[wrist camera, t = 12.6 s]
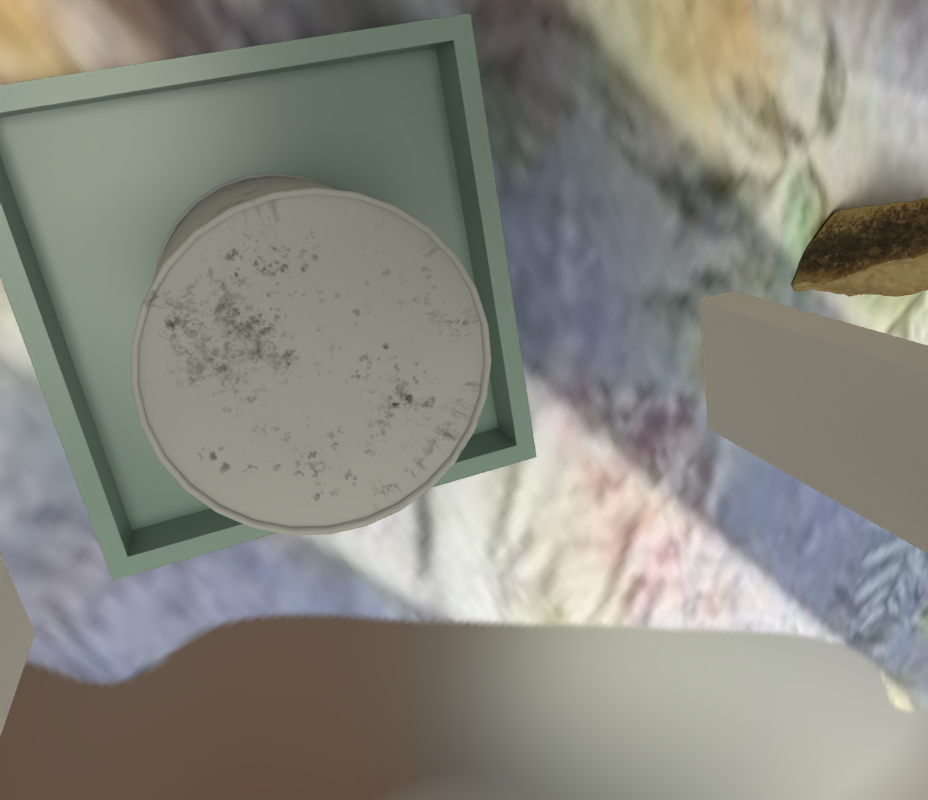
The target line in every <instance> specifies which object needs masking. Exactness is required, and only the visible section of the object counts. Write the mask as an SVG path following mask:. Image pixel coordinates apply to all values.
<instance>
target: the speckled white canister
mask: <svg viewBox="0 0 928 800" xmlns="http://www.w3.org/2000/svg"><path fill="white" fill-rule="evenodd" d="M490 367H491V351H490V339H489V328H488V322H487V319H486V316H485V313H484V310H483V307H482V303H481V300H480V297H479V294H478V291H477V288H476V287H475V285H474V283H473V282H472V280H471V278H470V277H469V275H468V273H467V271H466V270H465V268H464V266H463V265H462V263H461V261H460V260H459V258H458V256H457V255H456V254H455V253H454V252H453V251H452V250H451V249H450V248H449V247H448V246H447V245H446V244H445V243H444V242H443V241H442V240H441V239H440V238H439V237H438V236H437V235H436V233H435V232H434V231H433V230H432V229H431V228H429V227H428V226H426V225H425V224H423V223H422V222H420V221H419V220H417V219H415V218H414V217H412V216H411V215H409V214H408V213H406V212H405V211H403V210H402V209H400V208H398V207H397V206H394V205H392V204H389V203H386V202H383V201H380V200H378V199H375V198H372V197H369V196H366V195H364V194H361V193H358V192H352V191H343V190H336V189H333V188H332V187H330V186H329V185H326V184H323V183H320V182H318V181H315V180H312V179H309V178H306V177H303V176H299V175H291V174H282V173H264V174H255V175H246V176H243V177H240V178H237V179H234V180H232V181H229V182H226V183H223V184H220V185H218V186H216V187H215V188H213V189H212V190H210V191H209V192H207V193H206V194H204V195H203V196H201V197H200V198H198V199H197V200H195V201H194V202H193V203H192V204H191V205H190V206H189V207H188V208H187V210H186V211H185V212H184V213H183V214H182V215H181V216H180V217H179V218H178V219H177V220H176V221H175V223H174V225H173V227H172V229H171V230H170V232H169V234H168V236H167V238H166V239H165V241H164V243H163V245H162V247H161V251H160V255H159V259H158V262H157V266H156V270H155V276H154V281H153V283H152V285H151V287H150V289H149V290H148V292H147V294H146V296H145V298H144V299H143V301H142V305H141V308H140V312H139V316H138V320H137V323H136V327H135V331H134V335H133V338H132V342H131V388H132V392H133V397H134V401H135V405H136V409H137V413H138V417H139V421H140V425H141V427H142V429H143V431H144V433H145V435H146V437H147V438H148V440H149V442H150V444H151V446H152V448H153V450H154V452H155V454H156V456H157V458H158V459H159V461H160V462H161V463H162V464H163V466H164V467H165V468H166V469H167V470H168V471H169V472H170V473H171V475H172V476H173V477H174V478H175V479H176V480H177V481H178V483H179V484H180V485H181V486H182V487H183V488H184V489H185V490H186V491H187V492H188V493H190V494H191V495H193V496H194V497H195V498H197V499H198V500H200V501H201V502H203V503H204V504H205V505H207V506H208V507H210V508H211V509H212V510H214V511H215V512H217V513H219V514H221V515H223V516H226V517H228V518H230V519H233V520H235V521H238V522H240V523H242V524H245V525H247V526H250V527H252V528H255V529H261V530H266V531H272V532H277V533H283V534H288V535H319V534H333V533H337V532H342V531H346V530H350V529H355V528H359V527H364V526H367V525H369V524H372V523H374V522H376V521H378V520H380V519H383V518H385V517H387V516H389V515H392V514H394V513H396V512H398V511H400V510H402V509H403V508H405V507H406V506H407V505H409V504H410V503H412V502H413V501H414V500H416V499H417V498H419V497H420V496H421V495H423V494H424V493H426V492H427V491H428V490H430V489H431V488H432V487H433V486H434V485H435V484H436V483H437V481H438V480H439V479H440V478H441V477H442V476H443V475H444V474H445V473H446V472H447V471H448V470H449V469H450V468H451V467H452V465H453V464H454V463H455V462H456V461H457V459H458V457H459V456H460V454H461V452H462V451H463V449H464V447H465V446H466V444H467V443H468V441H469V439H470V438H471V436H472V434H473V433H474V431H475V428H476V425H477V423H478V420H479V417H480V414H481V411H482V409H483V406H484V403H485V400H486V397H487V390H488V383H489V375H490Z"/></svg>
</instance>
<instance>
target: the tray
mask: <svg viewBox="0 0 928 800" xmlns="http://www.w3.org/2000/svg"><path fill="white" fill-rule="evenodd" d="M264 173H282V174H291V175H299V176H303V177H306V178H309V179H312V180H315V181H318V182H320V183H323V184H326V185H329V186H330V187H332V188H333V189H336V190H343V191H352V192H358V193H361V194H364V195H366V196H369V197H372V198H375V199H378V200H380V201H383V202H386V203H389V204H392V205H394V206H397V207H398V208H400V209H402V210H403V211H405V212H406V213H408V214H409V215H411V216H412V217H414V218H415V219H417V220H419V221H420V222H422V223H423V224H425V225H426V226H428V227H429V228H431V229H432V230H433V231H434V232H435V233H436V235H437V236H438V237H439V238H440V239H441V240H442V241H443V242H444V243H445V244H446V245H447V246H448V247H449V248H450V249H451V250H452V251H453V252H454V253H455V254H456V255H457V256H458V258H459V260H460V261H461V263H462V265H463V266H464V268H465V270H466V271H467V273H468V275H469V277H470V278H471V280H472V282H473V283H474V285H475V287H476V288H477V291H478V294H479V297H480V300H481V303H482V307H483V310H484V313H485V316H486V319H487V322H488V328H489V339H490V351H491V367H490V375H489V383H488V390H487V397H486V400H485V403H484V406H483V409H482V411H481V414H480V417H479V420H478V423H477V425H476V428H475V431H474V433H473V434H472V436H471V438H470V439H469V441H468V443H467V444H466V446H465V447H464V449H463V451H462V452H461V454H460V456H459V457H458V459H457V461H456V462H455V463H454V464H453V465H452V467H451V468H450V469H449V470H448V471H447V472H446V473H445V474H444V475H443V476H442V477H441V478H440V479H439V480H438V481H437V483H436V484H435V485H434V486H433V487H435V486H439V485H442V484H445V483H449V482H452V481H456V480H459V479H463V478H466V477H469V476H473V475H476V474H480V473H483V472H486V471H490V470H493V469H497V468H500V467H504V466H507V465H510V464H514V463H517V462H521V461H524V460H528V459H531V458H534V457H536V452H535V445H534V438H533V431H532V425H531V418H530V411H529V404H528V398H527V391H526V384H525V377H524V371H523V364H522V357H521V350H520V344H519V337H518V330H517V323H516V317H515V310H514V303H513V296H512V290H511V283H510V276H509V269H508V263H507V256H506V249H505V242H504V236H503V229H502V222H501V215H500V209H499V202H498V195H497V188H496V182H495V175H494V168H493V161H492V155H491V148H490V141H489V134H488V128H487V121H486V114H485V107H484V101H483V94H482V87H481V80H480V74H479V67H478V60H477V53H476V47H475V40H474V33H473V26H472V20H471V13H468V14H462V15H455V16H449V17H442V18H436V19H429V20H423V21H416V22H410V23H403V24H396V25H390V26H383V27H377V28H370V29H364V30H357V31H351V32H344V33H338V34H331V35H324V36H318V37H311V38H305V39H298V40H292V41H285V42H279V43H272V44H266V45H259V46H252V47H246V48H239V49H233V50H226V51H220V52H213V53H207V54H200V55H194V56H187V57H180V58H174V59H167V60H161V61H154V62H148V63H141V64H135V65H128V66H122V67H115V68H108V69H102V70H95V71H89V72H82V73H76V74H69V75H63V76H56V77H50V78H43V79H37V80H30V81H23V82H17V83H10V84H4V85H0V278H1V280H2V283H3V286H4V289H5V291H6V294H7V297H8V299H9V302H10V305H11V307H12V310H13V313H14V316H15V318H16V321H17V324H18V326H19V329H20V332H21V334H22V337H23V340H24V343H25V345H26V348H27V351H28V353H29V356H30V359H31V361H32V364H33V367H34V370H35V372H36V375H37V378H38V380H39V383H40V386H41V388H42V391H43V394H44V397H45V399H46V402H47V405H48V407H49V410H50V413H51V415H52V418H53V421H54V424H55V426H56V429H57V432H58V434H59V437H60V440H61V442H62V445H63V448H64V451H65V453H66V456H67V459H68V461H69V464H70V467H71V469H72V472H73V475H74V478H75V480H76V483H77V486H78V488H79V491H80V494H81V496H82V499H83V502H84V504H85V507H86V510H87V513H88V515H89V518H90V521H91V523H92V526H93V529H94V531H95V534H96V537H97V540H98V542H99V545H100V548H101V550H102V553H103V556H104V558H105V561H106V564H107V567H108V569H109V572H110V575H111V577H112V580H117V579H120V578H123V577H127V576H130V575H134V574H137V573H141V572H144V571H147V570H151V569H154V568H158V567H161V566H165V565H168V564H171V563H175V562H178V561H182V560H185V559H189V558H192V557H195V556H199V555H202V554H206V553H209V552H213V551H216V550H219V549H223V548H226V547H230V546H233V545H236V544H240V543H243V542H247V541H250V540H254V539H257V538H260V537H264V536H267V535H271V534H274V533H277V532H272V531H266V530H261V529H255V528H252V527H250V526H247V525H245V524H242V523H240V522H238V521H235V520H233V519H230V518H228V517H226V516H223V515H221V514H219V513H217V512H215V511H214V510H212V509H211V508H210V507H208V506H207V505H205V504H204V503H203V502H201V501H200V500H198V499H197V498H195V497H194V496H193V495H191V494H190V493H188V492H187V491H186V490H185V489H184V488H183V487H182V486H181V485H180V484H179V483H178V481H177V480H176V479H175V478H174V477H173V476H172V475H171V473H170V472H169V471H168V470H167V469H166V468H165V467H164V466H163V464H162V463H161V462H160V461H159V459H158V458H157V456H156V454H155V452H154V450H153V448H152V446H151V444H150V442H149V440H148V438H147V437H146V435H145V433H144V431H143V429H142V427H141V425H140V421H139V417H138V413H137V409H136V405H135V401H134V397H133V392H132V388H131V342H132V338H133V335H134V331H135V327H136V323H137V320H138V316H139V312H140V308H141V305H142V301H143V299H144V298H145V296H146V294H147V292H148V290H149V289H150V287H151V285H152V283H153V281H154V276H155V270H156V266H157V262H158V259H159V255H160V251H161V247H162V245H163V243H164V241H165V239H166V238H167V236H168V234H169V232H170V230H171V229H172V227H173V225H174V223H175V221H176V220H177V219H178V218H179V217H180V216H181V215H182V214H183V213H184V212H185V211H186V210H187V208H188V207H189V206H190V205H191V204H192V203H193V202H194V201H195V200H197V199H198V198H200V197H201V196H203V195H204V194H206V193H207V192H209V191H210V190H212V189H213V188H215V187H216V186H218V185H220V184H223V183H226V182H229V181H232V180H234V179H237V178H240V177H243V176H246V175H255V174H264Z"/></svg>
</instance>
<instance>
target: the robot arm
mask: <svg viewBox="0 0 928 800" xmlns="http://www.w3.org/2000/svg"><path fill="white" fill-rule="evenodd" d="M699 307H700V321H701V335H702V349H703V362H704V376H705V390H706V404H707V418H708V429H710V430H712V431H713V432H715V433H717V434H719V435H720V436H722V437H724V438H726V439H727V440H729V441H731V442H733V443H734V444H736V445H738V446H740V447H741V448H743V449H745V450H747V451H749V452H750V453H752V454H754V455H756V456H757V457H759V458H761V459H763V460H764V461H766V462H768V463H770V464H771V465H773V466H775V467H777V468H778V469H780V470H782V471H784V472H785V473H787V474H789V475H791V476H792V477H794V478H796V479H798V480H799V481H801V482H803V483H805V484H806V485H808V486H810V487H812V488H813V489H815V490H817V491H819V492H820V493H822V494H824V495H826V496H827V497H829V498H831V499H833V500H834V501H836V502H838V503H840V504H841V505H843V506H845V507H847V508H848V509H850V510H852V511H854V512H855V513H857V514H859V515H861V516H863V517H864V518H866V519H868V520H870V521H871V522H873V523H875V524H877V525H878V526H880V527H882V528H884V529H885V530H887V531H889V532H891V533H892V534H894V535H896V536H898V537H899V538H901V539H903V540H905V541H906V542H908V543H910V544H912V545H913V546H915V547H917V548H919V549H920V550H922V551H924V552H926V553H927V554H928V346H927V345H924V344H920V343H916V342H913V341H909V340H906V339H902V338H899V337H895V336H892V335H888V334H885V333H881V332H878V331H874V330H871V329H867V328H864V327H860V326H856V325H853V324H849V323H846V322H842V321H839V320H835V319H832V318H828V317H825V316H821V315H818V314H814V313H811V312H807V311H803V310H800V309H796V308H793V307H789V306H786V305H782V304H779V303H775V302H772V301H768V300H765V299H761V298H758V297H754V296H750V295H747V294H743V293H740V292H736V291H730V292H726V293H722V294H718V295H715V296H711V297H707V298H703V299H699ZM34 636H35V631H34V629H33V626H32V624H31V622H30V619H29V617H28V615H27V613H26V610H25V608H24V606H23V603H22V601H21V599H20V596H19V594H18V592H17V589H16V587H15V585H14V583H13V580H12V578H11V576H10V573H9V571H8V569H7V566H6V564H5V562H4V559H3V557H2V555H1V553H0V735H1V733H2V730H3V727H4V724H5V721H6V718H7V715H8V712H9V709H10V706H11V703H12V700H13V697H14V694H15V691H16V688H17V685H18V683H19V680H20V677H21V674H22V671H23V668H24V665H25V662H26V659H27V656H28V653H29V650H30V647H31V644H32V641H33V639H34Z"/></svg>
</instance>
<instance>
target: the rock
mask: <svg viewBox="0 0 928 800" xmlns="http://www.w3.org/2000/svg"><path fill="white" fill-rule="evenodd" d="M792 287H793V288H794V290H796V291H803V290H807V289H814V290H819V291H830V292H833V293H836V294H848V296H853V295H858V294H876V295H877V294H881V295H883V296H904V295H911V294H916V293H918V292H921V291H923V290H928V198H923V199H920V200H917V201H913V202H895V203H890V204H885V205H881V206H880V205H873V206H864V207H858V208H852V209H846V210H839V211H837V212H836V213H834V214H833V215H832V216H831V218H830V219H829V220H828V221H827V222H826V223H825V225H824V226H823V228H822V229H821V230H820V231H819V233H818V234H817V236H816V237H815V239H814V240H813V241H812V242H811V244H810V245H809V246H808V248H807V250H806V251H805V253H804V256H803V258H802V260H801V262H800V265H799V268H798V272H797V275H796V277H795V279H794V280H793V282H792Z"/></svg>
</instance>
